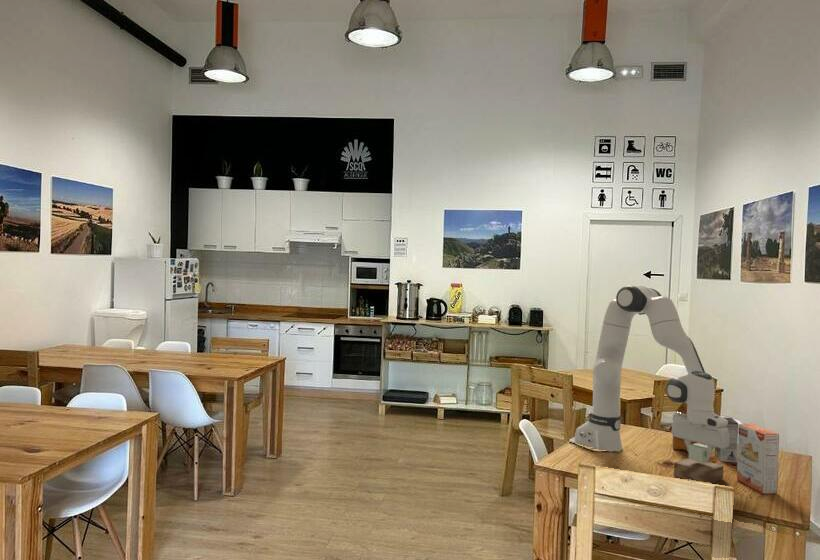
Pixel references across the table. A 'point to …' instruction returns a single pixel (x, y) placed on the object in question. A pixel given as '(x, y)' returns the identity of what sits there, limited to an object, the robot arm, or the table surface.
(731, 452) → the coffee box
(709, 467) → the walnut block
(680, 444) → the coffee package
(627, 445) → the table surface
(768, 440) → the cracker box
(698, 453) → the sage cube
